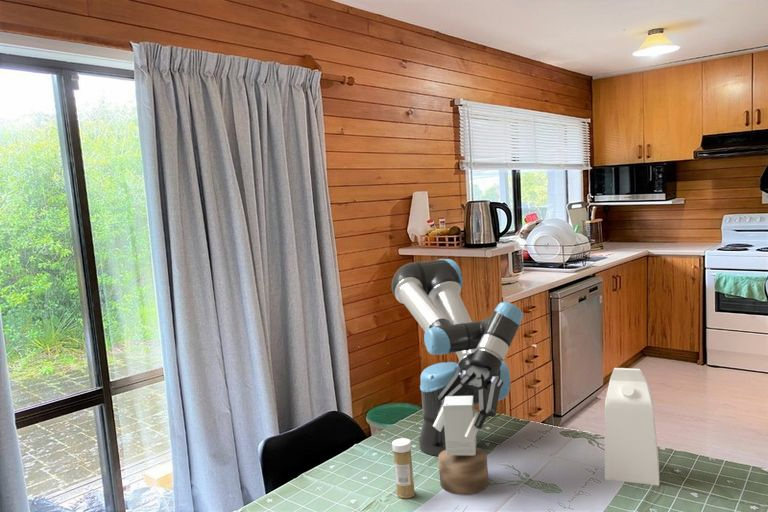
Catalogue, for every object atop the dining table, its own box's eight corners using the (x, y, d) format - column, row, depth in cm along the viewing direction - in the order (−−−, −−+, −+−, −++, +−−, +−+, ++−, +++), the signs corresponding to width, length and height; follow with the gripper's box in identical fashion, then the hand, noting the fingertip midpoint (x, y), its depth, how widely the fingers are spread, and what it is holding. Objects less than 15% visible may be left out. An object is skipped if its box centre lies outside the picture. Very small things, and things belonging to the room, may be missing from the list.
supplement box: (476, 456, 139) (472, 405, 138) (445, 455, 141) (441, 405, 140) (477, 443, 146) (474, 394, 145) (448, 443, 148) (444, 395, 147)
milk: (658, 464, 145) (654, 363, 143) (659, 485, 135) (654, 377, 133) (608, 459, 150) (602, 361, 148) (604, 479, 140) (598, 374, 138)
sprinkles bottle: (418, 491, 141) (413, 438, 140) (410, 500, 137) (405, 446, 136) (401, 488, 144) (397, 436, 143) (393, 497, 140) (388, 443, 139)
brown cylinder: (431, 480, 147) (429, 453, 147) (470, 468, 152) (468, 442, 152) (457, 500, 136) (454, 471, 136) (498, 486, 141) (496, 458, 141)
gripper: (531, 370, 143) (496, 452, 135) (463, 358, 161) (428, 430, 152) (517, 354, 140) (479, 438, 131) (449, 343, 157) (412, 416, 148)
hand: (452, 433), depth 141 cm, fingers closed on supplement box, 10 cm apart
